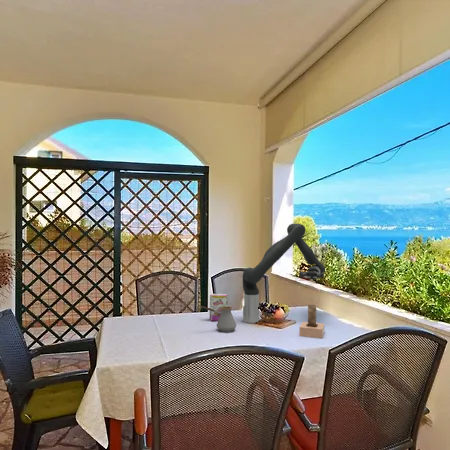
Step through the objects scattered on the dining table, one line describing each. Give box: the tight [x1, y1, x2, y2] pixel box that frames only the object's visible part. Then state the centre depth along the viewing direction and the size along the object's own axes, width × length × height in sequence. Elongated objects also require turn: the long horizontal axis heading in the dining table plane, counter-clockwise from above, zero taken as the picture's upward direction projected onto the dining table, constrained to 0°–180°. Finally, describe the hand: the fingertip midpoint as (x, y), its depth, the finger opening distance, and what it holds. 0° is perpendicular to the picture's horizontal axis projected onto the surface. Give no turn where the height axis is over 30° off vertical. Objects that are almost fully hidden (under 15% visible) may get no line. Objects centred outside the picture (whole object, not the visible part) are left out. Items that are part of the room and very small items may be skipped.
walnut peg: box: [307, 304, 317, 327], centre depth 207 cm, size 4×4×15 cm
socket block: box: [298, 321, 325, 339], centre depth 207 cm, size 12×12×5 cm
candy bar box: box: [209, 293, 229, 322], centre depth 236 cm, size 11×5×16 cm, turn 84°
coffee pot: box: [199, 305, 237, 333], centre depth 214 cm, size 21×12×15 cm, turn 109°
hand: (310, 276), depth 221 cm, fingers open, 8 cm apart
